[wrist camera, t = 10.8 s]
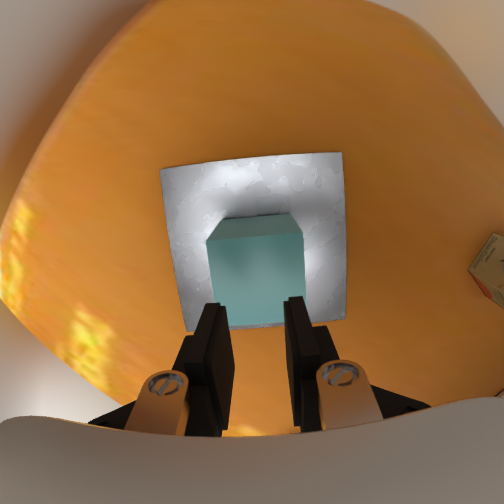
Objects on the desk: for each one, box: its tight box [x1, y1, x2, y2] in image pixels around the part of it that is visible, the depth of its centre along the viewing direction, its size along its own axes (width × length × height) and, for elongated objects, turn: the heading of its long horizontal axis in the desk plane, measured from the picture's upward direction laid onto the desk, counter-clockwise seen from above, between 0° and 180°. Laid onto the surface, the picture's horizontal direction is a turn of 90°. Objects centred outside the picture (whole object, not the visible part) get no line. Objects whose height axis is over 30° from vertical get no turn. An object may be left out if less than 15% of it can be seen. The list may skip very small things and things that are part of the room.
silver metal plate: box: [160, 152, 346, 332], centre depth 21 cm, size 14×14×7 cm
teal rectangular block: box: [206, 214, 307, 326], centre depth 20 cm, size 5×5×7 cm
